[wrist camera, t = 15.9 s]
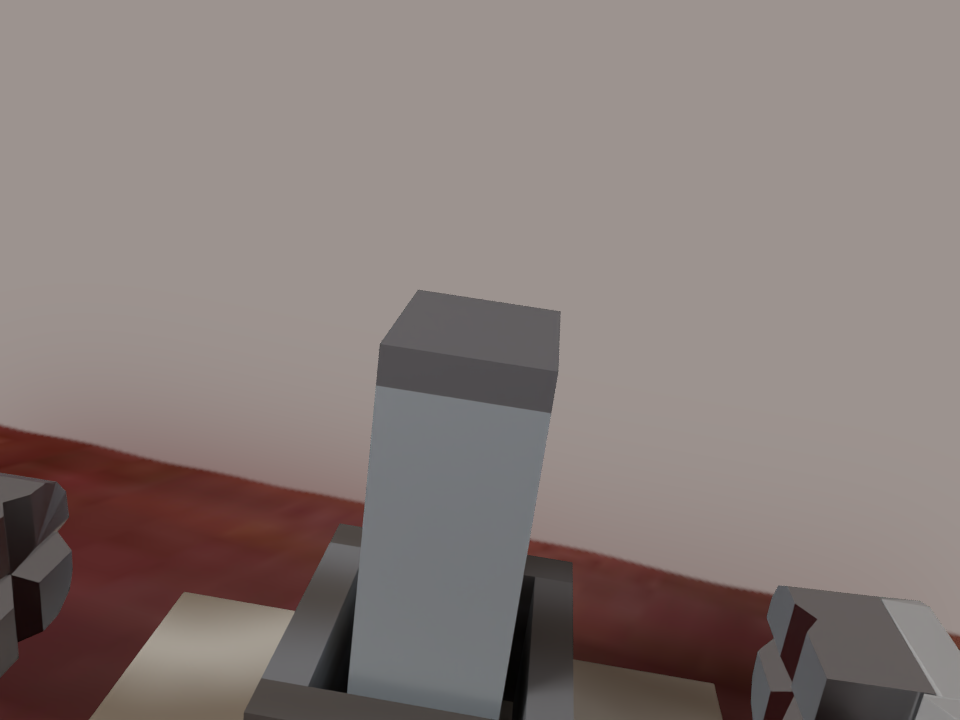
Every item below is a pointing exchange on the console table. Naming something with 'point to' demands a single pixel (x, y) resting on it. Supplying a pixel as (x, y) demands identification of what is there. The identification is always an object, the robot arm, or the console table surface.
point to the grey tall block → (451, 499)
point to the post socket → (327, 649)
